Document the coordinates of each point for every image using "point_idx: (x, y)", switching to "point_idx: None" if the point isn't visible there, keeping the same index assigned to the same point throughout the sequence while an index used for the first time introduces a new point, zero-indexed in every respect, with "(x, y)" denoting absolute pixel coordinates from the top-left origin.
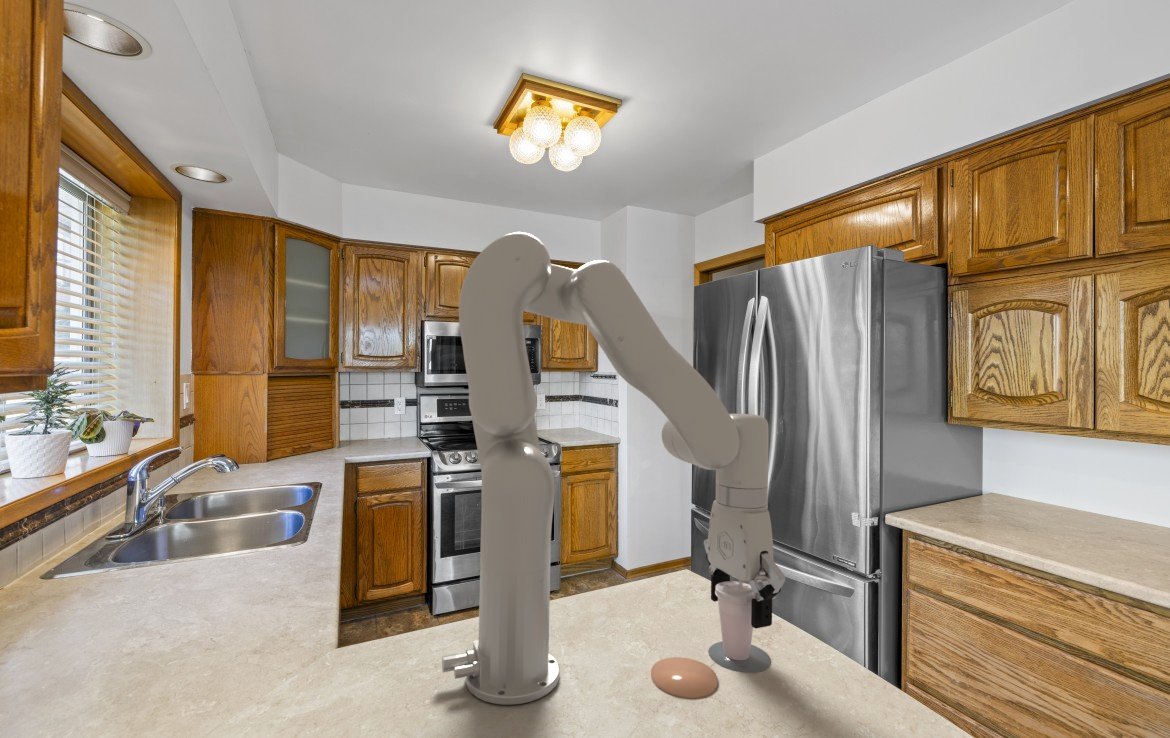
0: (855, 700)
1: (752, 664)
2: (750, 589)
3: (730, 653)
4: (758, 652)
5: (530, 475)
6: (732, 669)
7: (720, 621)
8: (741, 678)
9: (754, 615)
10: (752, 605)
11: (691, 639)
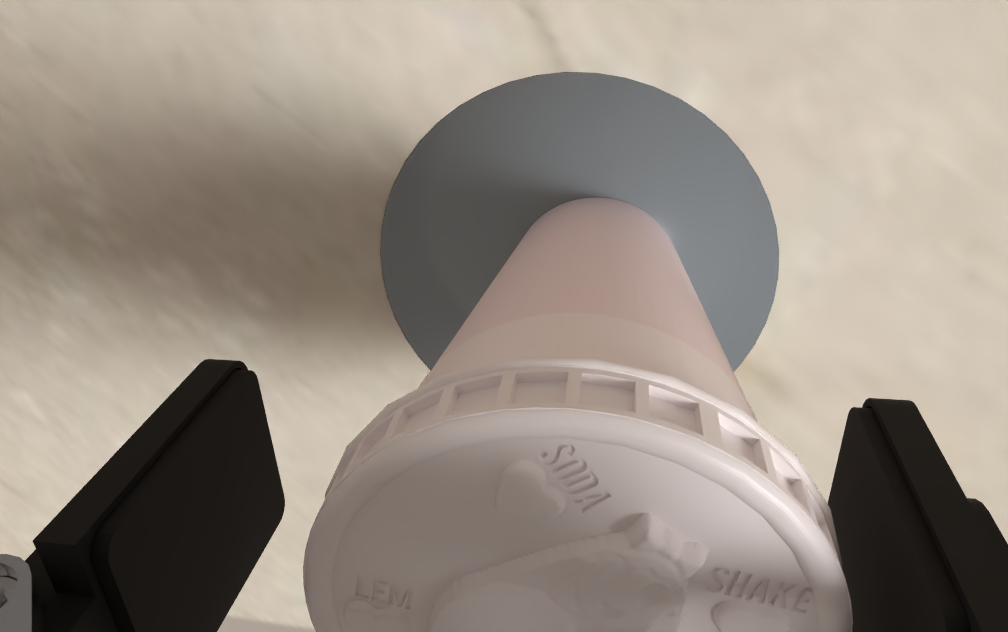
0: None
1: (458, 280)
2: None
3: (558, 214)
4: None
5: None
6: (445, 128)
7: (657, 282)
8: (345, 117)
9: (145, 426)
10: (108, 487)
11: (928, 103)
